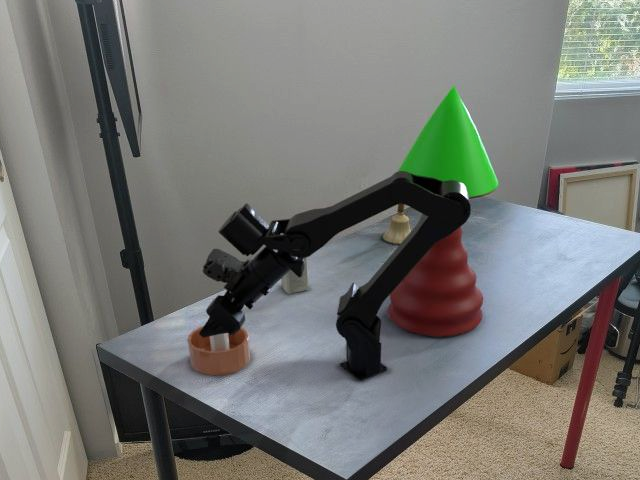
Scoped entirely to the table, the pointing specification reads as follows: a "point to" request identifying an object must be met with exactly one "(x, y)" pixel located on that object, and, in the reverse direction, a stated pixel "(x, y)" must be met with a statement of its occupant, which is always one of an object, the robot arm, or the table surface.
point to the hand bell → (398, 227)
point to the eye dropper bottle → (219, 342)
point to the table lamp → (449, 253)
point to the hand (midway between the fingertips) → (208, 323)
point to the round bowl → (219, 353)
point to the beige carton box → (295, 281)
